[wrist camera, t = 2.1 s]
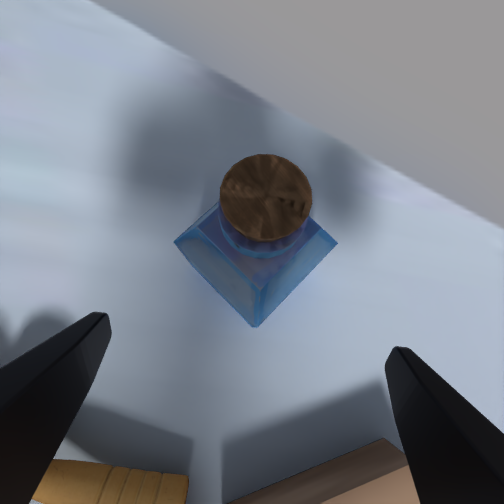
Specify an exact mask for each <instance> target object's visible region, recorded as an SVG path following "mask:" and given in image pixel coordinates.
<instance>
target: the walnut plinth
mask: <svg viewBox="0 0 504 504" xmlns="http://www.w3.org/2000/svg"><path fill="white" fill-rule="evenodd" d="M227 504H420V501H419V498H418V495H417V491H416V488H415V485H414V482H413V478H412V475H411V472H410V469H409V465H408V462H407V459H406V455H405V454H404V453H403V452H401V451H400V450H399V449H398V448H396V447H395V446H394V445H392V444H391V443H390V442H389V441H387V440H386V439H385V438H383V439H380V440H378V441H376V442H373V443H371V444H368V445H366V446H364V447H361V448H359V449H356V450H354V451H352V452H349V453H347V454H345V455H342V456H340V457H337V458H335V459H333V460H330V461H328V462H325V463H323V464H321V465H318V466H316V467H313V468H311V469H309V470H306V471H304V472H301V473H299V474H297V475H294V476H292V477H290V478H287V479H285V480H282V481H280V482H278V483H275V484H273V485H270V486H268V487H266V488H263V489H261V490H258V491H256V492H254V493H251V494H249V495H246V496H244V497H242V498H239V499H237V500H234V501H232V502H230V503H227Z"/></svg>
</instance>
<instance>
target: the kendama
mask: <svg viewBox="0 0 504 504" xmlns="http://www.w3.org/2000/svg"><path fill="white" fill-rule="evenodd" d="M188 486H189V477H188V476H187V475H180V474H170V473H163V474H161V473H160V472H154V471H145V470H139V469H130V468H126V467H120V466H116V467H113V466H112V465H107V464H101V463H94V462H86V461H76V460H62V459H52V461H51V463H50V465H49V467H48V469H47V471H46V473H45V474H44V476H43V478H42V480H41V482H40V484H39V486H38V488H37V490H36V491H35V493H34V495H33V497H32V499H33V500H35V501H38V502H41V503H43V504H185V502H186V497H187V492H188Z"/></svg>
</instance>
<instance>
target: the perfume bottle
mask: <svg viewBox="0 0 504 504" xmlns="http://www.w3.org/2000/svg"><path fill="white" fill-rule="evenodd" d="M311 205H312V191H311V187H310V185H309V182H308V180H307V177H306V176H305V175H304V173H303V172H302V171H301V170H300V169H299V167H298V166H296V165H295V164H293V163H292V162H290V161H289V160H287V159H285V158H282V157H279V156H276V155H269V154H258V155H254V156H250V157H247V158H244V159H243V160H241V161H239V162H238V163H236V164H235V165H233V166H232V168H231V169H230V170H229V171H228V172H227V174H226V175H225V177H224V179H223V182H222V184H221V187H220V199H219V202H218V203H216V204H215V205H214V206H213V207H212V208H211V209H210V210H209V211H207V212H206V213H205V214H204V215H203V216H202V217H201V218H200V219H198V220H197V221H196V222H195V223H194V224H193V225H192V226H190V227H189V228H188V229H187V230H186V231H185V232H184V233H183V234H181V235H180V236H179V237H178V238H177V239H176V240H175V241H174V243H175V245H176V246H177V247H178V248H179V250H180V251H181V252H182V253H183V255H184V256H185V257H186V259H187V260H188V261H189V262H190V264H191V265H192V266H193V267H194V268H195V269H196V270H197V271H198V272H199V273H200V274H201V275H202V276H203V277H204V278H205V279H206V280H207V281H208V282H209V284H210V285H211V286H212V287H213V288H214V289H215V290H216V291H217V292H218V293H219V294H220V295H221V296H222V297H223V298H224V299H225V300H226V301H227V302H228V303H229V304H230V305H231V306H232V307H233V308H234V309H235V310H236V311H237V312H238V313H239V314H240V315H241V316H242V317H243V318H244V320H245V321H246V322H247V323H248V324H249V325H250V326H251V327H255V328H257V327H258V326H259V325H260V324H261V323H262V322H263V321H264V320H265V319H266V318H267V317H268V316H269V315H270V314H271V313H272V312H273V311H274V310H275V309H276V307H277V306H278V305H279V304H280V303H281V302H282V301H283V300H284V299H285V298H286V297H287V296H288V295H289V294H290V293H291V292H292V291H293V290H294V289H295V288H296V287H297V286H298V285H299V283H300V282H301V281H302V280H303V279H304V278H305V277H306V276H307V275H308V274H309V273H310V272H311V271H312V270H313V269H314V268H315V267H316V266H317V265H318V264H319V263H320V262H321V261H322V259H323V258H324V257H325V256H326V255H327V254H328V253H329V252H330V251H331V250H332V249H333V248H334V247H335V246H336V245H337V244H338V243H337V242H336V241H335V240H334V239H333V238H332V237H331V236H330V235H329V234H328V233H327V232H326V231H325V230H323V229H322V228H321V227H320V226H319V225H318V224H317V223H316V222H315V221H314V220H313V219H312V218H310V217H309V216H308V215H309V212H310V208H311Z"/></svg>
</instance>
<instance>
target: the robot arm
mask: <svg viewBox="0 0 504 504" xmlns="http://www.w3.org/2000/svg"><path fill="white" fill-rule="evenodd" d="M111 335H112V331H111V326H110V320H109V316H108V314H107V313H102V312H92V313H90V314H89V315H87V316H85V317H84V318H82V319H80V320H79V321H77V322H75V323H74V324H72V325H71V326H69V327H67V328H66V329H64V330H62V331H61V332H59V333H57V334H56V335H54V336H53V337H51V338H49V339H48V340H46V341H44V342H43V343H41V344H39V345H38V346H36V347H35V348H33V349H31V350H30V351H28V352H26V353H25V354H23V355H21V356H20V357H18V358H17V359H15V360H13V361H12V362H10V363H8V364H7V365H5V366H3V367H2V368H0V504H29V503H30V501H31V499H32V497H33V495H34V493H35V491H36V490H37V488H38V486H39V484H40V482H41V480H42V478H43V476H44V474H45V473H46V471H47V469H48V467H49V465H50V463H51V461H52V459H53V458H54V456H55V454H56V452H57V450H58V448H59V446H60V444H61V443H62V441H63V439H64V437H65V435H66V433H67V431H68V429H69V428H70V426H71V424H72V422H73V420H74V418H75V416H76V414H77V412H78V411H79V409H80V407H81V405H82V403H83V401H84V399H85V397H86V396H87V394H88V392H89V390H90V388H91V386H92V383H93V381H94V379H95V376H96V374H97V371H98V369H99V367H100V364H101V362H102V359H103V357H104V354H105V352H106V349H107V347H108V344H109V342H110V339H111ZM385 374H386V379H387V384H388V389H389V394H390V399H391V404H392V409H393V414H394V418H395V422H396V426H397V429H398V432H399V436H400V439H401V442H402V446H403V449H404V452H405V455H406V459H407V462H408V465H409V469H410V472H411V475H412V478H413V482H414V485H415V488H416V491H417V495H418V498H419V501H420V504H504V434H503V433H502V432H501V431H500V430H499V429H498V428H497V427H496V426H495V425H493V424H492V423H491V422H490V421H489V420H488V419H487V418H486V417H485V416H484V415H482V414H481V413H480V412H479V411H478V410H477V409H476V408H475V407H474V406H473V405H471V404H470V403H469V402H468V401H467V400H466V399H465V398H464V397H463V396H462V395H460V394H459V393H458V392H457V391H456V390H455V389H454V388H453V387H452V386H450V385H449V384H448V383H447V382H446V381H445V380H444V379H443V378H442V377H441V376H439V375H438V374H437V373H436V372H435V371H434V370H433V369H432V368H431V367H430V366H428V365H427V364H426V363H425V362H424V361H423V360H422V359H421V358H420V357H419V356H417V355H416V354H415V353H414V352H413V351H412V350H411V349H409V348H407V347H399V346H395V347H394V348H393V349H392V351H391V353H390V355H389V357H388V359H387V361H386V363H385Z"/></svg>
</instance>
